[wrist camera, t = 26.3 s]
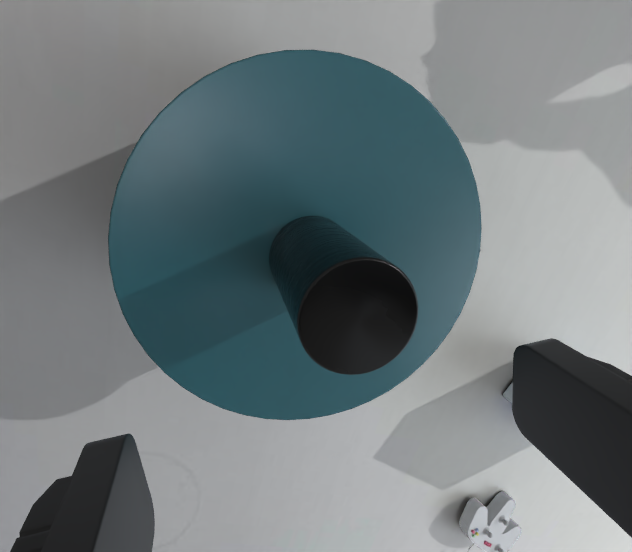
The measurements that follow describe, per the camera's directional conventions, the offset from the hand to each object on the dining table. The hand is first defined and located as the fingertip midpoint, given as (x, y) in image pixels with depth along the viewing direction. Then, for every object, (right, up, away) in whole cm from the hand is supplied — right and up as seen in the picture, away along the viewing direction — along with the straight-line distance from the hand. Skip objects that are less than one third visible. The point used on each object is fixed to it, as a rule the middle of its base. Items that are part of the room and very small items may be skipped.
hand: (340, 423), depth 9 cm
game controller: (+12, -20, +30) cm, 38 cm away
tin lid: (-1, +4, +7) cm, 8 cm away
